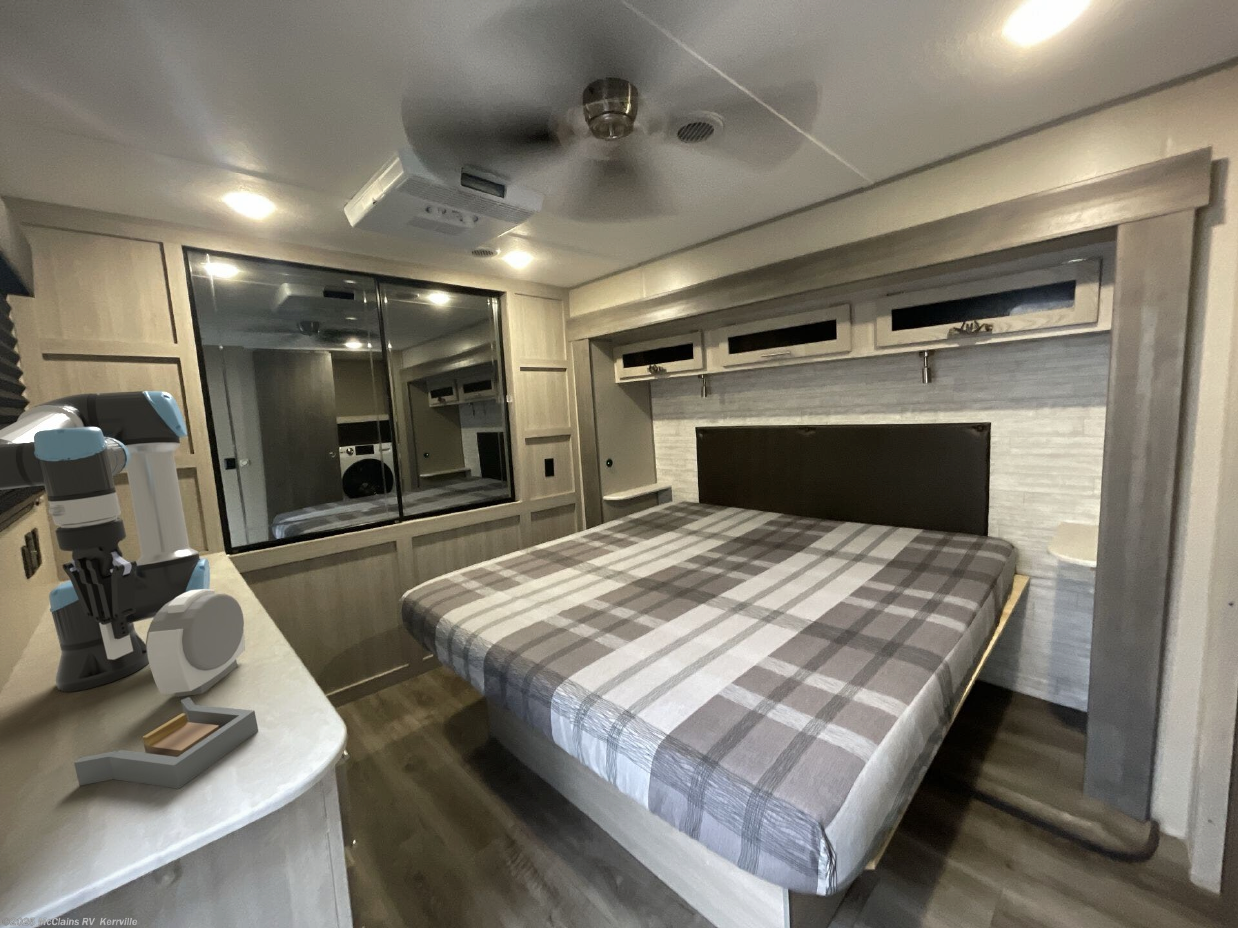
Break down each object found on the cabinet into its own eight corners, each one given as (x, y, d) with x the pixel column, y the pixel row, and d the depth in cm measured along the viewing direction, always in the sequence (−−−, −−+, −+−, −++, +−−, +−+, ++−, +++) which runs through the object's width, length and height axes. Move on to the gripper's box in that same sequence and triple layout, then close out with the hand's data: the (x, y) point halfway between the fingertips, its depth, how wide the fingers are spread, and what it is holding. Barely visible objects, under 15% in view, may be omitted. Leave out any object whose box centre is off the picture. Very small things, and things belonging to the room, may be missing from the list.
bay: (77, 785, 76) (71, 762, 76) (191, 715, 92) (186, 696, 92) (165, 798, 72) (160, 774, 72) (268, 723, 88) (264, 703, 88)
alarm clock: (218, 660, 113) (202, 579, 111) (256, 656, 114) (241, 575, 111) (151, 709, 96) (130, 613, 93) (196, 704, 96) (177, 608, 94)
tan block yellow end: (148, 764, 80) (142, 736, 79) (187, 738, 86) (181, 713, 85) (185, 769, 78) (179, 741, 78) (222, 743, 84) (217, 716, 83)
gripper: (29, 528, 76) (64, 664, 80) (89, 528, 74) (122, 670, 77) (89, 515, 84) (118, 641, 87) (146, 515, 81) (174, 645, 84)
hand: (120, 654), depth 82 cm, fingers closed
